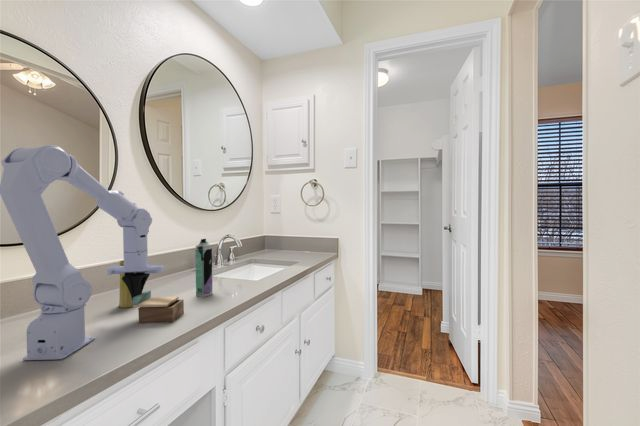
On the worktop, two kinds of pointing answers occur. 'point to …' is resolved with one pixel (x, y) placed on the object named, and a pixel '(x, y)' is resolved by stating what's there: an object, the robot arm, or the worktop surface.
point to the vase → (124, 293)
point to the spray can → (203, 269)
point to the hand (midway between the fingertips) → (136, 299)
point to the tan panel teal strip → (152, 300)
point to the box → (161, 313)
